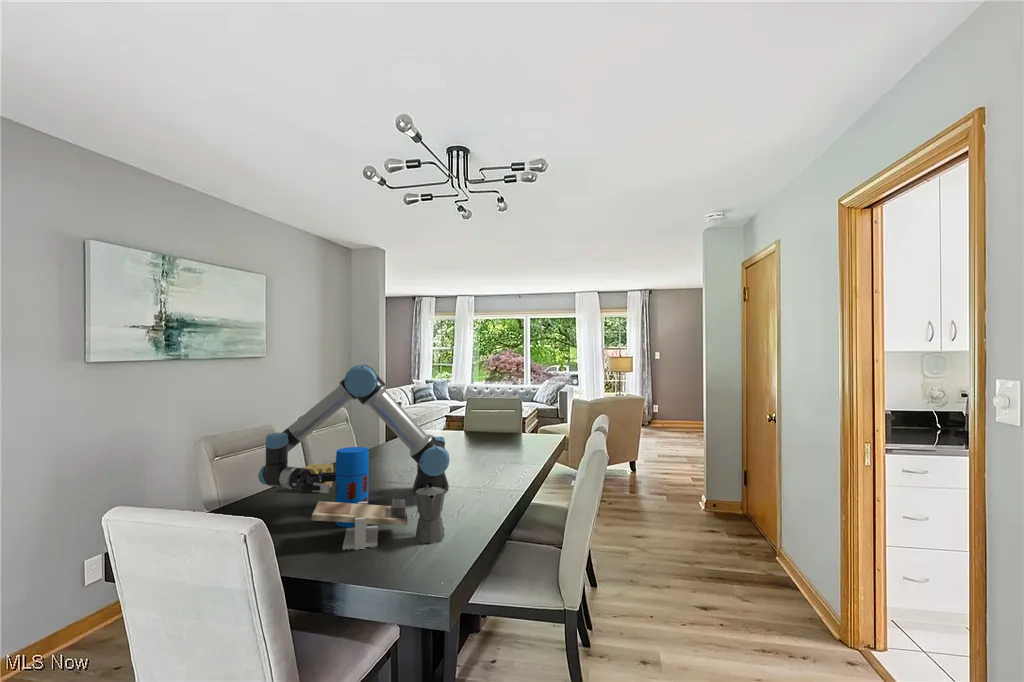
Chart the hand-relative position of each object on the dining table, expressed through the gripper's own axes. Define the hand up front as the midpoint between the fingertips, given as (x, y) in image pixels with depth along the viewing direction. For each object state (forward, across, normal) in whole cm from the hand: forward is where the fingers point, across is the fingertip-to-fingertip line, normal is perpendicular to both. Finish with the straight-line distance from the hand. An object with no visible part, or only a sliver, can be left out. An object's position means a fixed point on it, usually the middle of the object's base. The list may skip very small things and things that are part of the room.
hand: (342, 484), depth 173 cm
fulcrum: (+17, +11, -13) cm, 24 cm away
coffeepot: (+36, +2, -13) cm, 39 cm away
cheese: (-39, -28, -13) cm, 50 cm away
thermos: (+4, 0, -13) cm, 14 cm away
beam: (+17, +11, -5) cm, 21 cm away
